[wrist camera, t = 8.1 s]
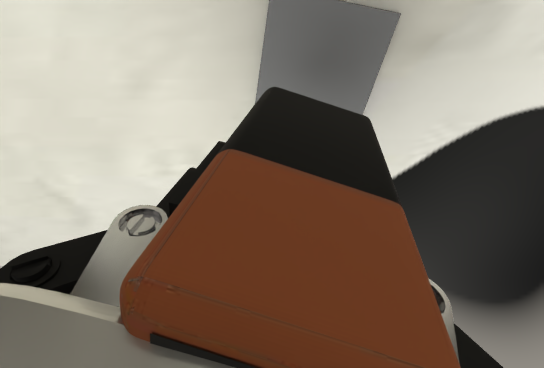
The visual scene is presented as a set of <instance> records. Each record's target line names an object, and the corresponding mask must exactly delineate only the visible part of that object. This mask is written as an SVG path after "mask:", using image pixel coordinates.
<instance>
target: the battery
mask: <svg viewBox="0 0 544 368" xmlns="http://www.w3.org/2000/svg"><path fill="white" fill-rule="evenodd" d="M119 299H120V311H121V318H122V322H123V324H124V326H125V328H126V330H127V331H128V332H129V333H130V334H131V335H133V336H135V337H137V338H139V339H142V340H145V341H148V342H150V344H154V345H157V346H161V347H164V348H168V349H172V350H175V351H179V352H182V353H186V354H189V355H193V356H196V357H200V358H203V359H207V360H211V361H214V362H218V363H221V364H225V365H228V366H232V367H235V368H461V367H460V364H459V362H458V359H457V356H456V353H455V350H454V348H453V345H452V342H451V339H450V337H449V334H448V331H447V328H446V326H445V323H444V320H443V318H442V315H441V312H440V309H439V307H438V304H437V301H436V298H435V296H434V293H433V290H432V287H431V285H430V282H429V279H428V276H427V274H426V271H425V268H424V266H423V263H422V260H421V257H420V255H419V252H418V249H417V246H416V244H415V241H414V238H413V236H412V233H411V230H410V227H409V225H408V222H407V219H406V216H405V214H404V211H403V208H402V205H401V203H400V200H399V197H398V194H397V192H396V189H395V186H394V183H393V181H392V178H391V175H390V172H389V170H388V167H387V164H386V162H385V159H384V156H383V153H382V151H381V148H380V145H379V142H378V140H377V137H376V134H375V131H374V129H373V126H372V123H371V121H370V119H369V118H368V117H366V116H364V115H361V114H358V113H355V112H352V111H349V110H346V109H343V108H340V107H337V106H334V105H331V104H328V103H325V102H322V101H319V100H316V99H313V98H310V97H307V96H304V95H300V94H297V93H294V92H291V91H288V90H285V89H282V88H279V87H271V88H269V89H267V90H266V91H265V92H264V93H263V95H262V96H261V97H260V98H259V100H258V101H257V102H256V104H255V105H254V106H253V108H252V109H251V110H250V112H249V113H248V114H247V116H246V117H245V118H244V120H243V121H242V122H241V123H240V125H239V126H238V127H237V129H236V130H235V131H234V133H233V134H232V135H231V137H230V138H229V139H228V141H227V142H226V143H225V145H224V146H223V147H222V148H221V150H220V151H219V152H218V154H217V155H216V156H215V158H214V159H213V160H212V162H211V163H210V164H209V166H208V167H207V168H206V170H205V171H204V172H203V173H202V175H201V176H200V177H199V179H198V180H197V181H196V183H195V184H194V185H193V187H192V188H191V189H190V191H189V192H188V193H187V195H186V196H185V197H184V198H183V200H182V201H181V202H180V204H179V205H178V206H177V208H176V209H175V210H174V212H173V213H172V214H171V216H170V217H169V218H168V220H167V221H166V222H165V223H164V225H163V226H162V227H161V229H160V230H159V231H158V233H157V234H156V235H155V237H154V238H153V239H152V241H151V242H150V243H149V245H148V246H147V247H146V249H145V250H144V251H143V252H142V254H141V255H140V256H139V258H138V259H137V260H136V262H135V263H134V265H133V266H132V267H131V269H130V270H129V271H128V273H127V275H126V276H125V278H124V280H123V282H122V284H121V288H120V296H119Z"/></svg>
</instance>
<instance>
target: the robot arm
mask: <svg viewBox="0 0 544 368" xmlns="http://www.w3.org/2000/svg"><path fill="white" fill-rule="evenodd" d="M224 145H225V142H221V141H219V142H218V143H217V144H216V145H215V147H214V148H213V149H212V150H211V151H210V153H209V154H208V155H207V156H206V158H205V159H204V160H203V161H202V162H201V164H200V165H199V166H198V167H197V169H196V168H190V169H188V170H187V172H186V173H185V174H184V175H183V176H182V177H181V179H180V180H179V181H178V182H177V183H176V184H175V185H174V187H173V188H172V189H171V190H170V191H169V192H168V194H167V195H166V196H165V197H164V198H163V199H162V200H161V202H160V203H159V204H158V205H157V206H151V205H139V206H134V207H131V208H128V209H126V210H124V211H123V212H121V213H120V214H118V215H117V217H116V218H115V219H114V220H113V222H112V224H111V225H110V227H109V229H108V230H106V231H102V232H98V233H95V234H91V235H88V236H84V237H80V238H77V239H73V240H69V241H66V242H62V243H58V244H55V245H51V246H47V247H44V248H40V249H36V250H33V251H30V252H27V253H24V254H22V255H20V256H18V257H16V258H14V259H13V260H11V261H10V262H8V263H7V264H6V265H5V266H3V267H2V268H0V368H235V367H232V366H228V365H225V364H221V363H218V362H214V361H211V360H207V359H203V358H200V357H196V356H193V355H189V354H186V353H182V352H179V351H175V350H172V349H168V348H164V347H161V346H157V345H154V344H150V342H148V341H145V340H142V339H139V338H137V337H135V336H133V335H131V334H130V333H129V332H128V331H127V330H126V328H125V326H124V324H123V322H122V318H121V311H120V299H119V296H120V288H121V284H122V282H123V280H124V278H125V276H126V275H127V273H128V271H129V270H130V269H131V267H132V266H133V265H134V263H135V262H136V260H137V259H138V258H139V256H140V255H141V254H142V252H143V251H144V250H145V249H146V247H147V246H148V245H149V243H150V242H151V241H152V239H153V238H154V237H155V235H156V234H157V233H158V231H159V230H160V229H161V227H162V226H163V225H164V223H165V222H166V221H167V220H168V218H169V217H170V216H171V214H172V213H173V212H174V210H175V209H176V208H177V206H178V205H179V204H180V202H181V201H182V200H183V198H184V197H185V196H186V195H187V193H188V192H189V191H190V189H191V188H192V187H193V185H194V184H195V183H196V181H197V180H198V179H199V177H200V176H201V175H202V173H203V172H204V171H205V170H206V168H207V167H208V166H209V164H210V163H211V162H212V160H213V159H214V158H215V156H216V155H217V154H218V152H219V151H220V150H221V148H222V147H223V146H224ZM429 282H430V285H431V287H432V290H433V293H434V296H435V298H436V301H437V304H438V307H439V309H440V312H441V315H442V318H443V320H444V323H445V326H446V328H447V331H448V334H449V337H450V339H451V342H452V345H453V348H454V350H455V353H456V356H457V359H458V362H459V364H460V367H461V368H503V367H502V366H501V365H500V364H499V363H498V362H496V361H495V360H494V359H493V358H492V357H491V356H490V355H489V354H487V352H485V351H484V350H483V349H482V348H481V347H480V346H479V345H478V344H477V343H475V342H474V341H473V340H472V339H471V338H470V337H469V336H468V335H466V334H465V333H464V332H463V331H462V330H461V329H460V328H459V327H458V326H456V325H455V324H454V321H453V314H452V308H451V304H450V301H449V300H448V298H447V296H446V295H445V293H444V292H443V291H442V290H441V289H440V288H439V286H438V285H436V284H435V283H434V282H432V281H431V280H430V279H429Z"/></svg>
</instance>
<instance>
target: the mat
mask: <svg viewBox="0 0 544 368" xmlns="http://www.w3.org/2000/svg"><path fill="white" fill-rule="evenodd" d="M400 15H401V13H396V12H392V11H387V10H382V9H377V8H372V7H368V6H363V5H358V4H353V3H349V2H344V1H339V0H269V6H268V13H267V21H266V28H265V35H264V43H263V50H262V57H261V65H260V72H259V79H258V87H257V94H256V102H257V101H258V100H259V98H260V97H261V96H262V95H263V93H264V92H265V91H266V90H267V89H269V88H271V87H279V88H282V89H285V90H288V91H291V92H294V93H297V94H300V95H304V96H307V97H310V98H313V99H316V100H319V101H322V102H325V103H328V104H331V105H334V106H337V107H340V108H343V109H346V110H349V111H352V112H355V113H358V114H361V115H362V114H363V111H364V109H365V106H366V103H367V101H368V98H369V96H370V93H371V90H372V88H373V85H374V83H375V80H376V77H377V75H378V72H379V70H380V67H381V64H382V62H383V59H384V57H385V54H386V51H387V49H388V46H389V44H390V41H391V38H392V36H393V33H394V30H395V28H396V25H397V23H398V20H399V17H400ZM256 102H255V104H256Z"/></svg>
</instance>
